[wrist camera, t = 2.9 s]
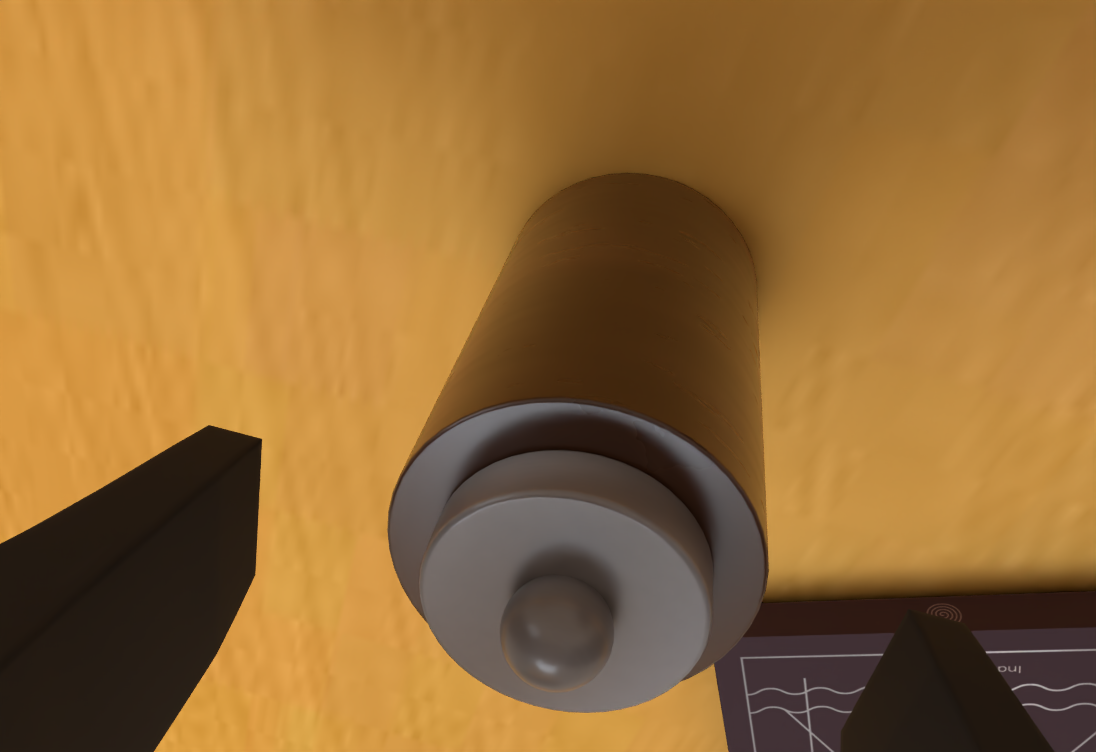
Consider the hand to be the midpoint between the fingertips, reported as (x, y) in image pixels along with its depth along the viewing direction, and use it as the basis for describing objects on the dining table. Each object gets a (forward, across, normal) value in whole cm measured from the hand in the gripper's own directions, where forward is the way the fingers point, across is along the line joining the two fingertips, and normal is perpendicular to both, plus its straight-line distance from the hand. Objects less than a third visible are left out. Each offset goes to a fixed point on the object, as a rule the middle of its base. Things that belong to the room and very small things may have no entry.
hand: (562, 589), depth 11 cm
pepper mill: (+8, 0, 0) cm, 8 cm away
